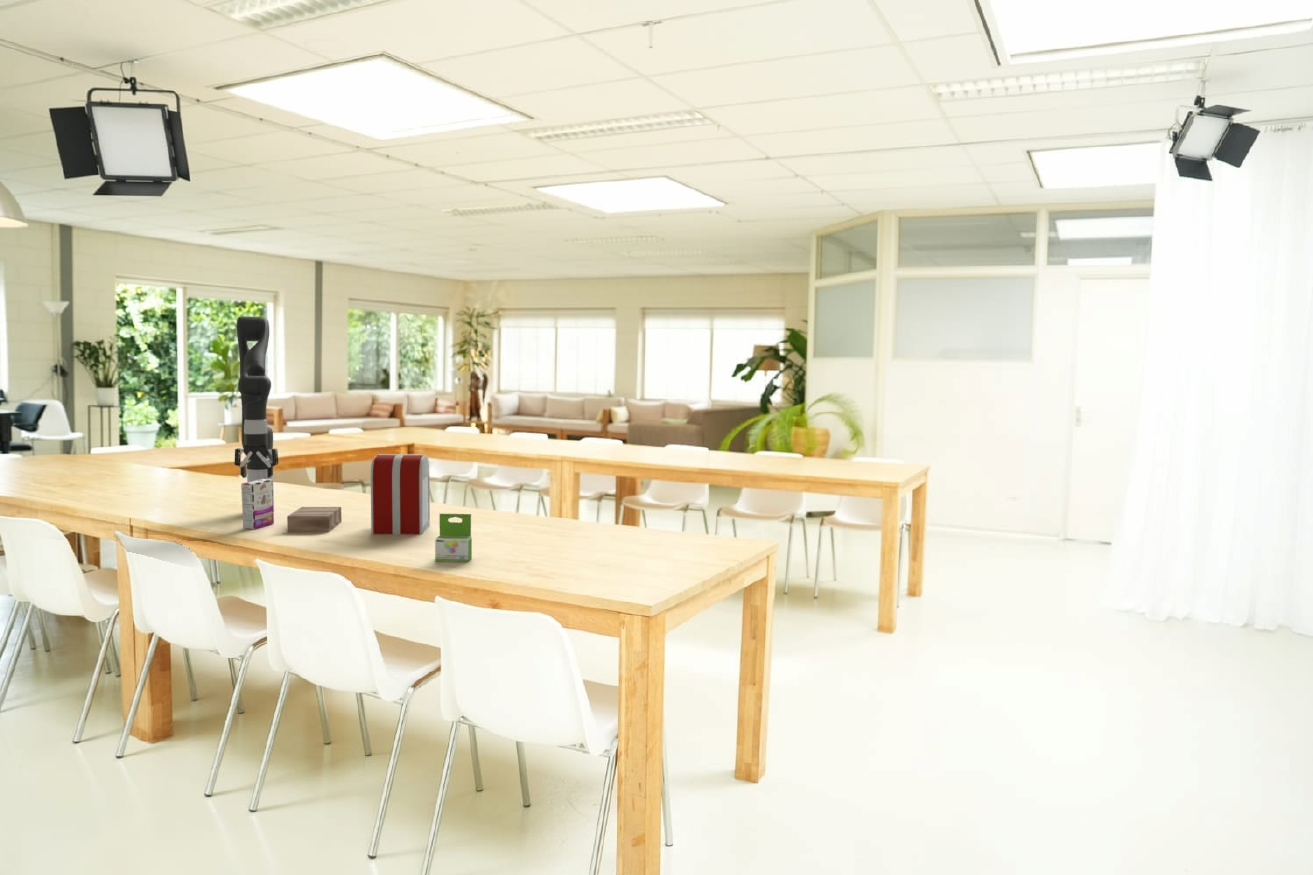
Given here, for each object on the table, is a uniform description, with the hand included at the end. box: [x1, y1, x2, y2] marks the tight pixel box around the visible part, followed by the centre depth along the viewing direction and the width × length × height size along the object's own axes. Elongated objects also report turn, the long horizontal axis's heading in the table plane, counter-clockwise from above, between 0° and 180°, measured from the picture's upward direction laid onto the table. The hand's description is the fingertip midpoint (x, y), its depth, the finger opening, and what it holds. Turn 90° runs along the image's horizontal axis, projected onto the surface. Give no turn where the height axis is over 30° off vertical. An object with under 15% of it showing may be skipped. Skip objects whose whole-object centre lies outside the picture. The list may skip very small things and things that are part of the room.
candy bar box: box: [240, 479, 275, 530], centre depth 310 cm, size 11×5×16 cm, turn 168°
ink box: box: [434, 513, 473, 563], centre depth 267 cm, size 10×5×14 cm, turn 90°
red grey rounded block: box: [370, 453, 431, 535], centre depth 309 cm, size 16×18×27 cm
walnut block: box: [286, 506, 343, 533], centre depth 312 cm, size 18×14×6 cm
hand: (256, 477), depth 309 cm, fingers open, 8 cm apart
